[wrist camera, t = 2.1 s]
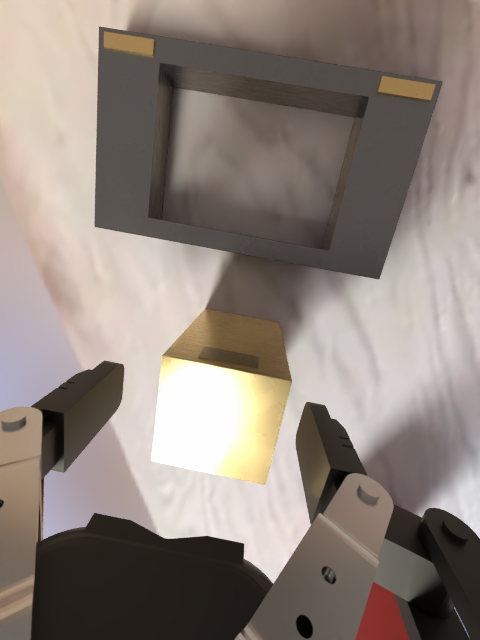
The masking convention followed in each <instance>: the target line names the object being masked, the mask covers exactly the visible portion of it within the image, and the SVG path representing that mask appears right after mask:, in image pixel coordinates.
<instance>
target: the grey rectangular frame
mask: <svg viewBox="0 0 480 640" xmlns="http://www.w3.org/2000/svg"><path fill="white" fill-rule="evenodd" d="M441 85H442V81H436V80H429V79H423V78H417V77H411V76H404V75H398V74H392V73H386V72H379V71H373V70H367V69H361V68H354V67H348V66H342V65H336V64H330V63H323V62H317V61H311V60H305V59H298V58H292V57H286V56H280V55H273V54H267V53H261V52H255V51H248V50H242V49H236V48H230V47H223V46H217V45H211V44H205V43H198V42H192V41H186V40H180V39H173V38H167V37H161V36H155V35H148V34H142V33H136V32H130V31H123V30H117V29H111V28H105V27H99V57H98V101H97V145H96V189H95V227H99V228H104V229H109V230H115V231H120V232H126V233H131V234H136V235H142V236H147V237H153V238H158V239H163V240H169V241H174V242H180V243H185V244H190V245H196V246H201V247H207V248H212V249H218V250H223V251H228V252H234V253H239V254H245V255H250V256H255V257H261V258H266V259H272V260H277V261H282V262H288V263H293V264H299V265H304V266H309V267H315V268H320V269H326V270H331V271H336V272H342V273H347V274H353V275H358V276H364V277H369V278H374V279H379V278H380V275H381V272H382V269H383V266H384V263H385V260H386V257H387V253H388V250H389V247H390V244H391V241H392V238H393V235H394V232H395V229H396V225H397V222H398V219H399V216H400V213H401V210H402V207H403V204H404V201H405V197H406V194H407V191H408V188H409V185H410V182H411V179H412V176H413V172H414V169H415V166H416V163H417V160H418V157H419V154H420V151H421V148H422V144H423V141H424V138H425V135H426V132H427V129H428V126H429V123H430V120H431V116H432V113H433V110H434V107H435V104H436V101H437V98H438V95H439V92H440V88H441ZM173 87H177V88H183V89H189V90H195V91H201V92H207V93H213V94H219V95H225V96H231V97H237V98H243V99H249V100H255V101H262V102H268V103H274V104H280V105H286V106H292V107H298V108H304V109H310V110H316V111H322V112H328V113H334V114H340V115H346V116H352V117H355V119H354V123H353V127H352V131H351V135H350V139H349V143H348V147H347V151H346V155H345V158H344V162H343V166H342V170H341V174H340V178H339V182H338V186H337V190H336V194H335V198H334V202H333V206H332V210H331V214H330V218H329V222H328V226H327V230H326V234H325V238H324V241H323V245H322V249H318V248H312V247H307V246H301V245H296V244H290V243H285V242H279V241H274V240H268V239H263V238H257V237H252V236H246V235H241V234H235V233H230V232H224V231H219V230H214V229H208V228H203V227H197V226H192V225H186V224H181V223H175V222H170V221H164V220H161V218H162V207H163V196H164V184H165V173H166V162H167V150H168V139H169V128H170V116H171V105H172V94H173Z"/></svg>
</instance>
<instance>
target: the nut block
mask: <svg viewBox="0 0 480 640" xmlns="http://www.w3.org/2000/svg"><path fill="white" fill-rule="evenodd" d="M291 383H292V379H291V375H290V370H289V366H288V361H287V356H286V352H285V347H284V342H283V338H282V333H281V328H280V324H279V323H278V322H272V321H267V320H262V319H257V318H252V317H247V316H241V315H236V314H231V313H226V312H221V311H215V310H210V309H205V310H204V311H203V312H202V313H201V314H200V315H199V316H198V317H197V318H196V320H195V321H194V322H193V323H192V324H191V325H190V326H189V327H188V328H187V329H186V330H185V332H184V333H183V334H182V335H181V336H180V337H179V338H178V339H177V340H176V341H175V342H174V343H173V345H172V346H171V347H170V348H169V349H168V350H167V351H166V352H165V353H164V354H163V355H162V363H161V373H160V383H159V393H158V402H157V412H156V422H155V432H154V441H153V451H152V461H155V462H160V463H165V464H169V465H174V466H179V467H183V468H188V469H193V470H198V471H202V472H207V473H212V474H216V475H221V476H226V477H231V478H235V479H240V480H245V481H249V482H254V483H259V484H264V485H265V484H266V480H267V476H268V473H269V469H270V465H271V461H272V457H273V453H274V449H275V445H276V441H277V438H278V434H279V430H280V426H281V422H282V418H283V414H284V410H285V407H286V403H287V399H288V395H289V391H290V387H291Z"/></svg>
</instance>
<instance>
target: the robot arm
mask: <svg viewBox="0 0 480 640" xmlns="http://www.w3.org/2000/svg"><path fill="white" fill-rule="evenodd" d="M123 379H124V366H123V364H119V363H114V362H109V361H103V362H102V363H101V364H99V365H98V366H97V367H95V368H94V369H93V370H86V371H83V372H81V373H78V374H76V375H74V376H73V377H71V378H70V379H69V380H67V382H65V383H63V384H62V385H60V386H59V388H56V389H55V390H53V391H52V392H51V393H49V394H48V395H47V396H45V397H44V398H42V399H41V400H40V401H38V402H37V403H35V404H34V405H32V406H31V407H17V408H12V409H8V410H5V411H2V412H0V640H355V639H356V635H357V632H358V629H359V626H360V622H361V619H362V616H363V613H364V610H365V606H366V603H367V600H368V597H369V594H370V590H371V587H372V584H373V582H375V583H376V584H378V585H380V586H382V587H383V588H385V589H387V590H389V591H391V592H392V593H394V596H395V599H396V602H397V605H398V608H399V611H400V614H401V617H402V619H403V622H404V625H405V628H406V631H407V634H408V637H409V640H480V539H479V537H478V536H477V535H476V534H475V532H474V531H473V530H472V529H471V528H470V527H469V526H468V525H466V524H465V523H464V522H463V521H461V520H460V519H459V518H457V517H456V516H454V515H452V514H450V513H449V512H446V511H444V510H441V509H438V508H429V509H427V510H426V511H425V513H424V515H423V517H422V518H421V517H419V516H417V515H415V514H413V513H411V512H408V511H406V510H404V509H402V508H400V507H398V506H396V505H394V504H393V501H392V499H391V496H390V495H389V493H388V492H387V491H386V490H385V489H384V488H383V487H382V486H381V485H380V484H379V483H378V482H376V481H375V480H373V479H372V478H370V477H368V476H367V474H366V472H365V470H364V468H363V465H362V463H361V461H360V459H359V457H358V455H357V453H356V451H355V449H353V444H352V442H351V441H350V438H349V436H348V434H347V432H346V430H345V428H344V427H343V426H342V425H341V424H340V423H339V422H338V421H337V420H335V419H331V418H330V415H329V413H328V410H327V408H326V406H325V405H321V404H316V403H311V402H307V403H306V404H305V407H304V410H303V413H302V417H301V420H300V423H299V427H298V430H297V434H296V450H297V455H298V460H299V466H300V471H301V476H302V481H303V486H304V492H305V497H306V502H307V507H308V512H309V518H310V523H311V524H312V525H311V527H310V528H309V530H308V531H307V533H306V534H305V536H304V537H303V539H302V541H301V542H300V544H299V545H298V547H297V548H296V550H295V551H294V553H293V555H292V556H291V558H290V559H289V561H288V562H287V564H286V565H285V567H284V569H283V570H282V572H281V573H280V575H279V576H278V578H277V579H276V581H275V583H274V584H273V583H272V582H271V581H270V580H269V578H268V577H267V576H266V575H265V574H264V573H263V572H262V571H261V570H259V569H258V568H257V567H256V566H254V565H253V564H252V563H250V562H249V561H247V560H245V559H243V558H244V544H243V543H238V542H234V541H229V540H224V539H219V538H214V537H209V536H202V537H190V538H177V539H165V538H162V537H160V536H159V535H157V534H155V533H153V532H151V531H149V530H148V529H145V528H144V527H142V526H140V525H138V524H137V523H135V522H133V521H131V520H126V519H121V518H116V517H111V516H107V515H102V514H97V513H94V515H93V516H92V518H91V520H90V521H89V523H88V525H87V526H86V527H81V528H76V529H71V530H67V531H64V532H61V533H58V534H55V535H53V536H50V537H48V538H46V539H44V540H43V512H44V477H45V475H46V474H47V473H48V472H49V471H50V470H54V471H59V472H65V471H66V470H67V469H68V467H69V466H70V465H71V464H72V463H73V462H74V460H75V459H76V458H77V457H78V455H79V454H80V453H81V452H82V451H83V450H84V449H85V447H86V446H87V445H88V444H89V443H90V441H91V440H92V439H93V437H95V435H96V434H97V433H98V432H99V431H100V430H101V428H102V427H103V426H104V425H105V424H106V422H107V421H108V420H109V419H110V418H111V417H112V415H113V414H114V413H115V412H116V411H117V409H118V407H119V405H120V403H121V400H122V393H123ZM454 607H455V608H456V610H457V612H458V614H459V616H460V618H461V620H462V622H463V624H464V626H465V628H466V630H467V632H468V635H469V637H470V639H469V637H468V635H467V633H466V631H465V630H464V627H463V625H462V623H461V621H460V619H459V617H458V615H457V613H456V611H455V609H454Z"/></svg>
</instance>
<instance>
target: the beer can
mask: <svg viewBox="0 0 480 640" xmlns="http://www.w3.org/2000/svg"><path fill="white" fill-rule="evenodd" d="M355 640H409V637H408V634H407V631H406V628H405V625H404V622H403V619H402V617H401V614H400V611H399V608H398V605H397V602H396V599H395V596H394V593H392V592H391V591H389V590H387V589H385V588H383V587H382V586H380V585H378V584H376V583H375V582H373V584H372V587H371V590H370V594H369V597H368V600H367V603H366V606H365V610H364V613H363V616H362V619H361V622H360V626H359V629H358V632H357V635H356V639H355Z"/></svg>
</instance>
